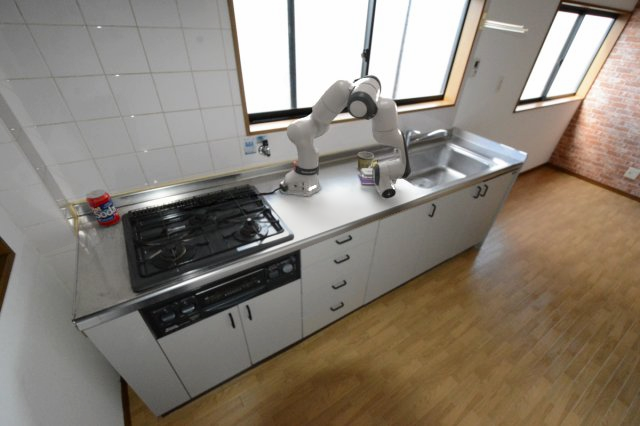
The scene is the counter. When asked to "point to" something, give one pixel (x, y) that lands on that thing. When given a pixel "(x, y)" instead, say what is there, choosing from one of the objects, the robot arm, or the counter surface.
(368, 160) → the ceramic cup
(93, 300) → the counter surface
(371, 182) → the towel
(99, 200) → the soda can
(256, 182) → the counter surface
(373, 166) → the green grape bunch
